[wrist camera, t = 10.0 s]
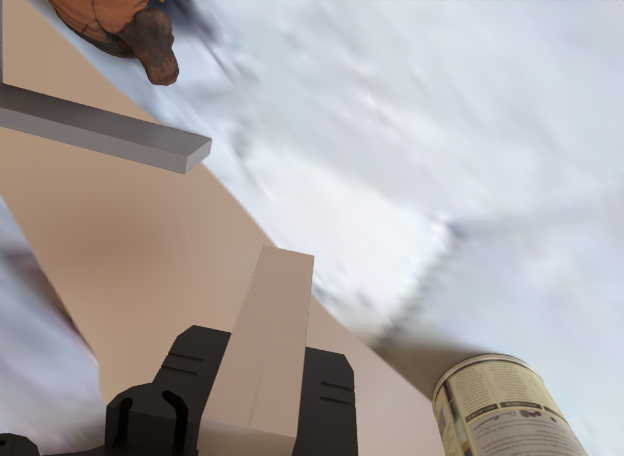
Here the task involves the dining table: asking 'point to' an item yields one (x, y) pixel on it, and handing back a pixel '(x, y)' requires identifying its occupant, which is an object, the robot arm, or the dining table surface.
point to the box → (99, 128)
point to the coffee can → (500, 411)
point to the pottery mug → (125, 32)
